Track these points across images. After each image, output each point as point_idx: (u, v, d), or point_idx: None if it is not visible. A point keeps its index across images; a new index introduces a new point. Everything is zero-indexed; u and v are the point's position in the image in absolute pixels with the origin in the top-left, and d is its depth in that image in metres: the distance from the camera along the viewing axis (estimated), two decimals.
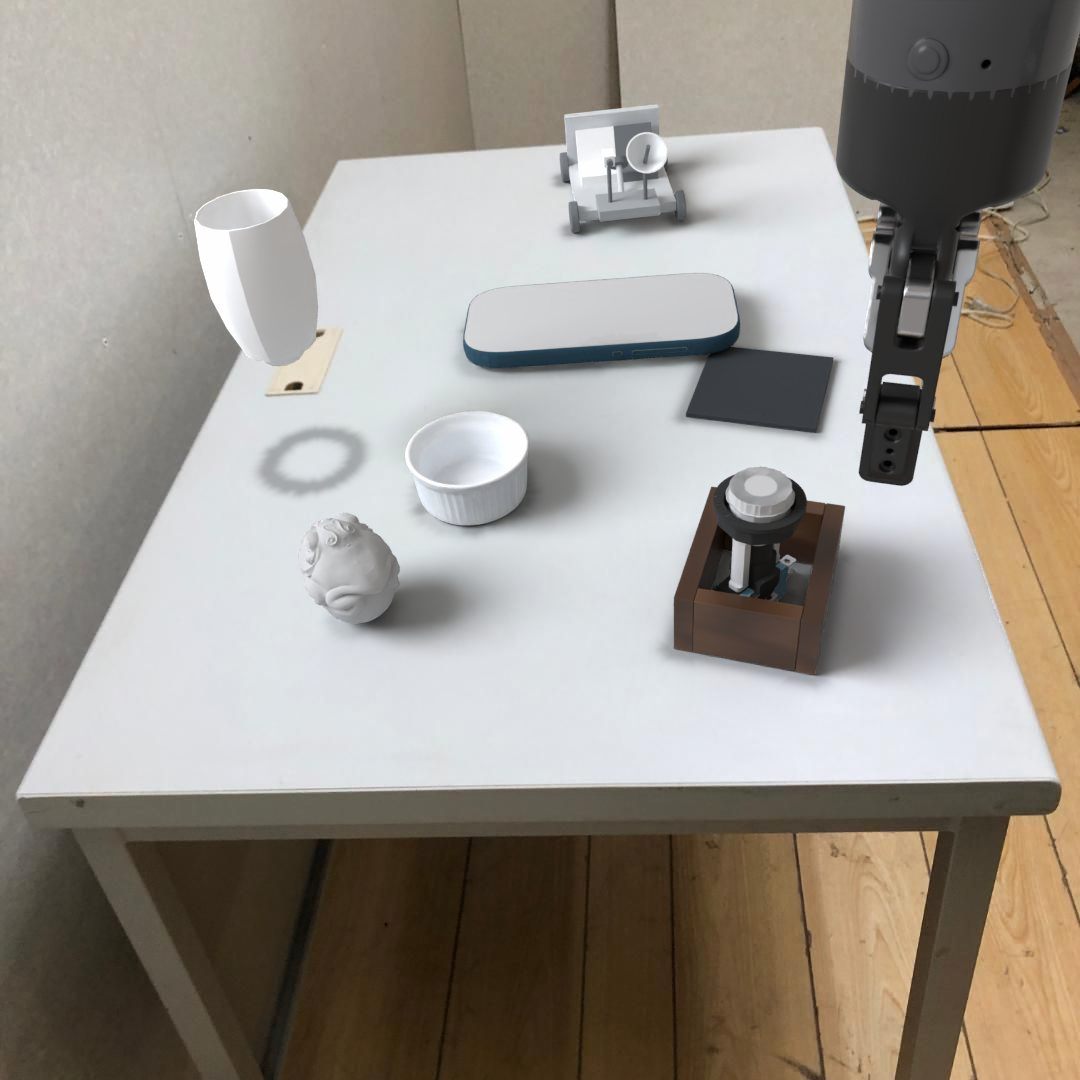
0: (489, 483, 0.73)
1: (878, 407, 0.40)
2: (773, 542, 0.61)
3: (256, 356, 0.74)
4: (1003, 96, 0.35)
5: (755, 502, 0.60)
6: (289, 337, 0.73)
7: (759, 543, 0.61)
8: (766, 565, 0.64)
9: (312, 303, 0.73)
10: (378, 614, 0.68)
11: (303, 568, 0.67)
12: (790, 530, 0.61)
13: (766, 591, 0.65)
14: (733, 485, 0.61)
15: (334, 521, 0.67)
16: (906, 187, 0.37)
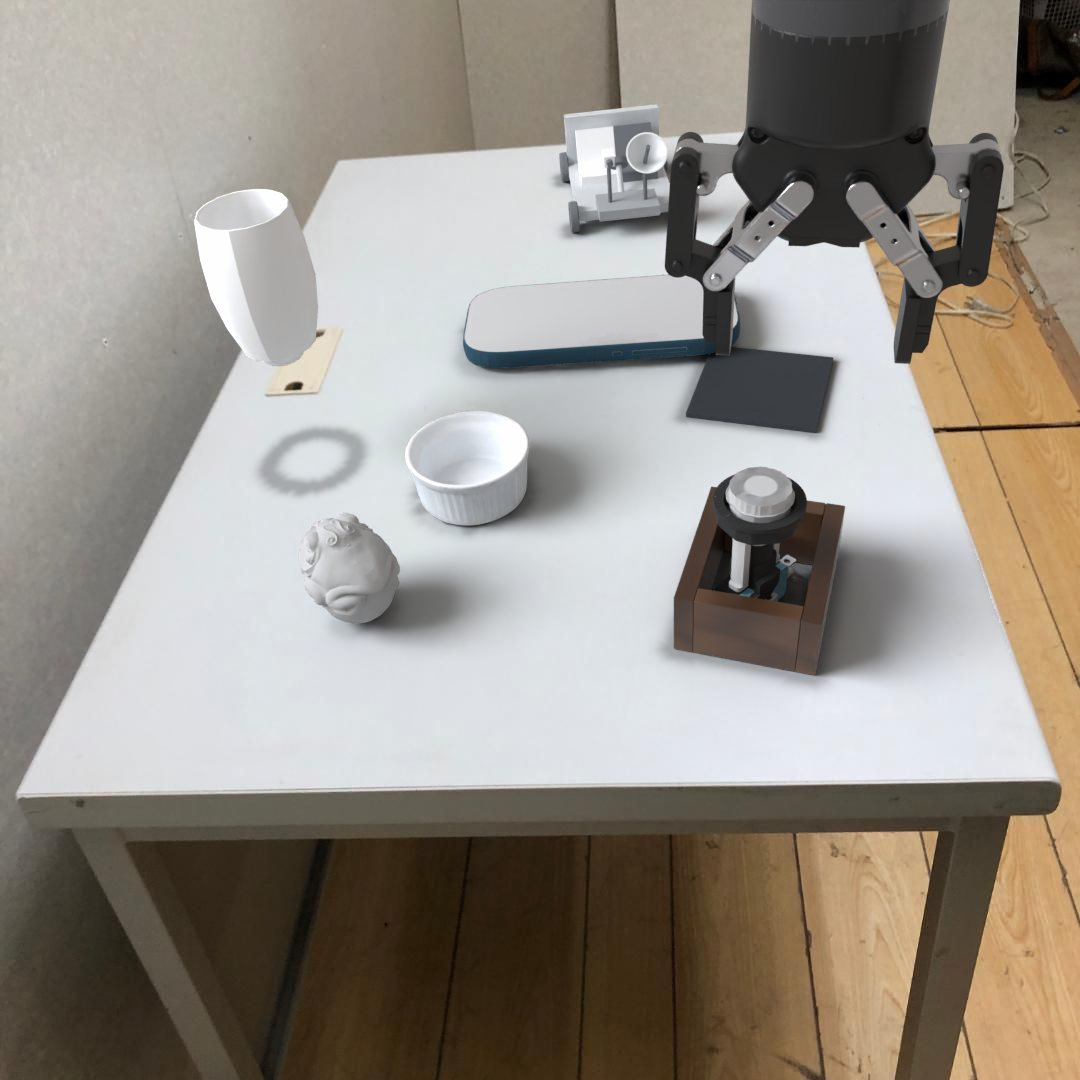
0: (489, 483, 0.73)
1: None
2: (773, 542, 0.61)
3: (256, 356, 0.74)
4: (758, 26, 0.41)
5: (755, 502, 0.60)
6: (289, 337, 0.73)
7: (759, 543, 0.61)
8: (766, 565, 0.64)
9: (312, 303, 0.73)
10: (378, 614, 0.68)
11: (303, 568, 0.67)
12: (790, 530, 0.61)
13: (766, 591, 0.65)
14: (733, 485, 0.61)
15: (334, 521, 0.67)
16: None
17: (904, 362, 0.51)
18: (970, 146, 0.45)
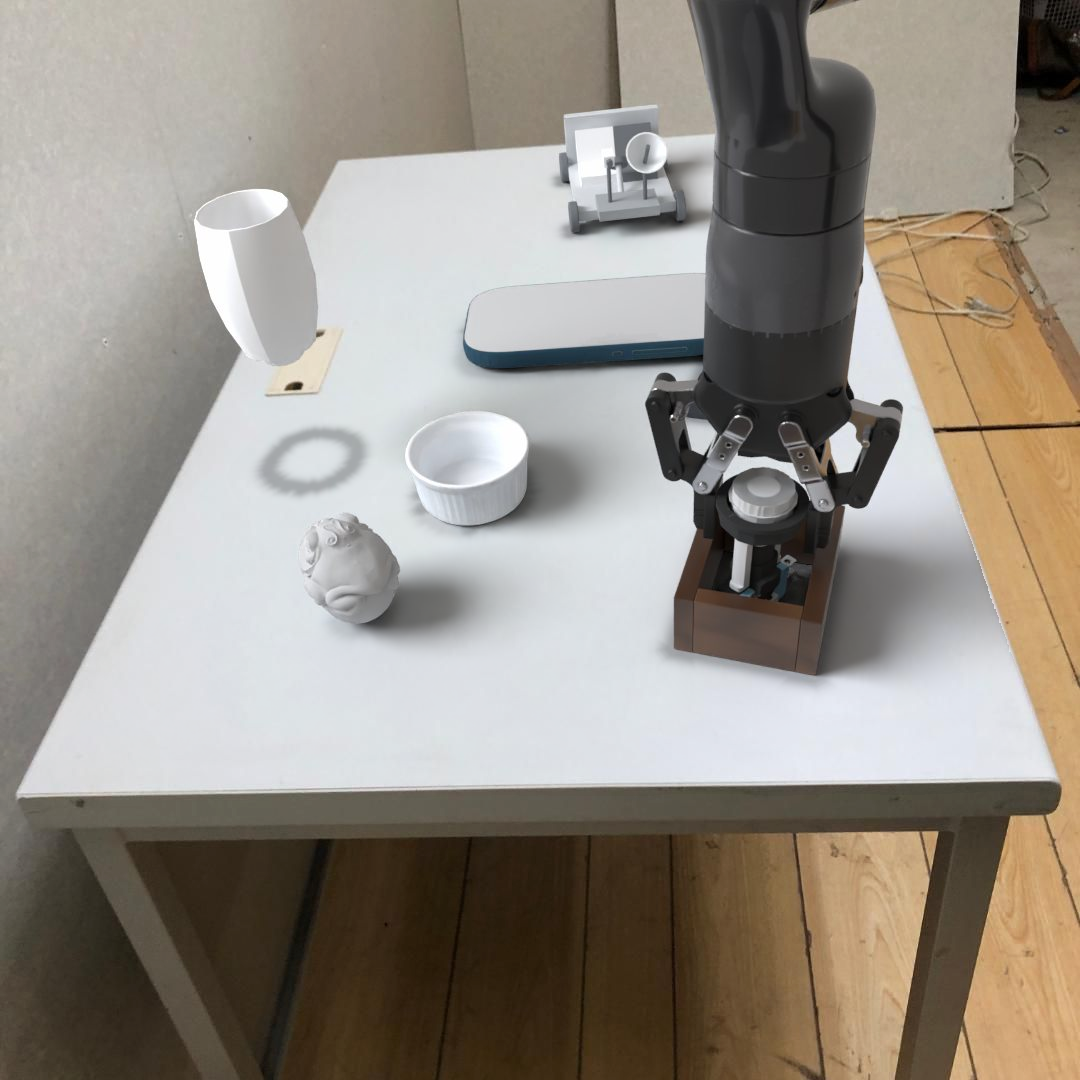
0: (489, 483, 0.73)
1: None
2: (775, 543, 0.61)
3: (256, 356, 0.74)
4: (707, 307, 0.53)
5: (758, 503, 0.60)
6: (289, 337, 0.73)
7: (761, 544, 0.61)
8: (767, 565, 0.64)
9: (312, 303, 0.73)
10: (378, 614, 0.68)
11: (303, 568, 0.67)
12: (793, 531, 0.61)
13: (767, 591, 0.65)
14: (736, 485, 0.61)
15: (334, 521, 0.67)
16: None
17: (809, 554, 0.63)
18: (880, 409, 0.56)
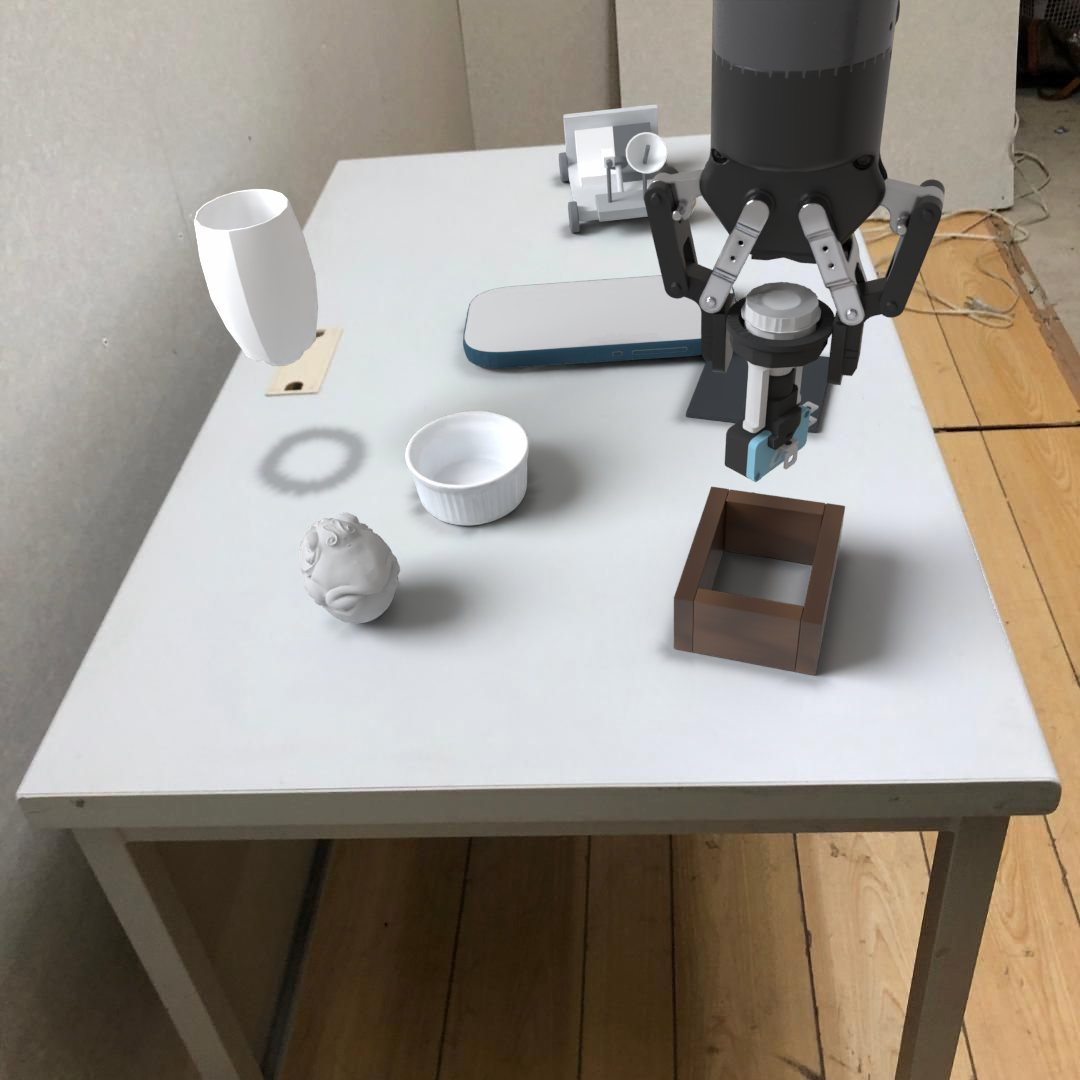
0: (489, 483, 0.73)
1: None
2: (796, 364, 0.53)
3: (256, 356, 0.74)
4: (714, 57, 0.45)
5: (776, 315, 0.52)
6: (289, 337, 0.73)
7: (780, 366, 0.53)
8: (785, 400, 0.56)
9: (312, 303, 0.73)
10: (378, 614, 0.68)
11: (303, 568, 0.67)
12: (815, 350, 0.53)
13: (785, 432, 0.57)
14: (750, 300, 0.53)
15: (334, 521, 0.67)
16: None
17: (835, 383, 0.54)
18: (919, 188, 0.48)
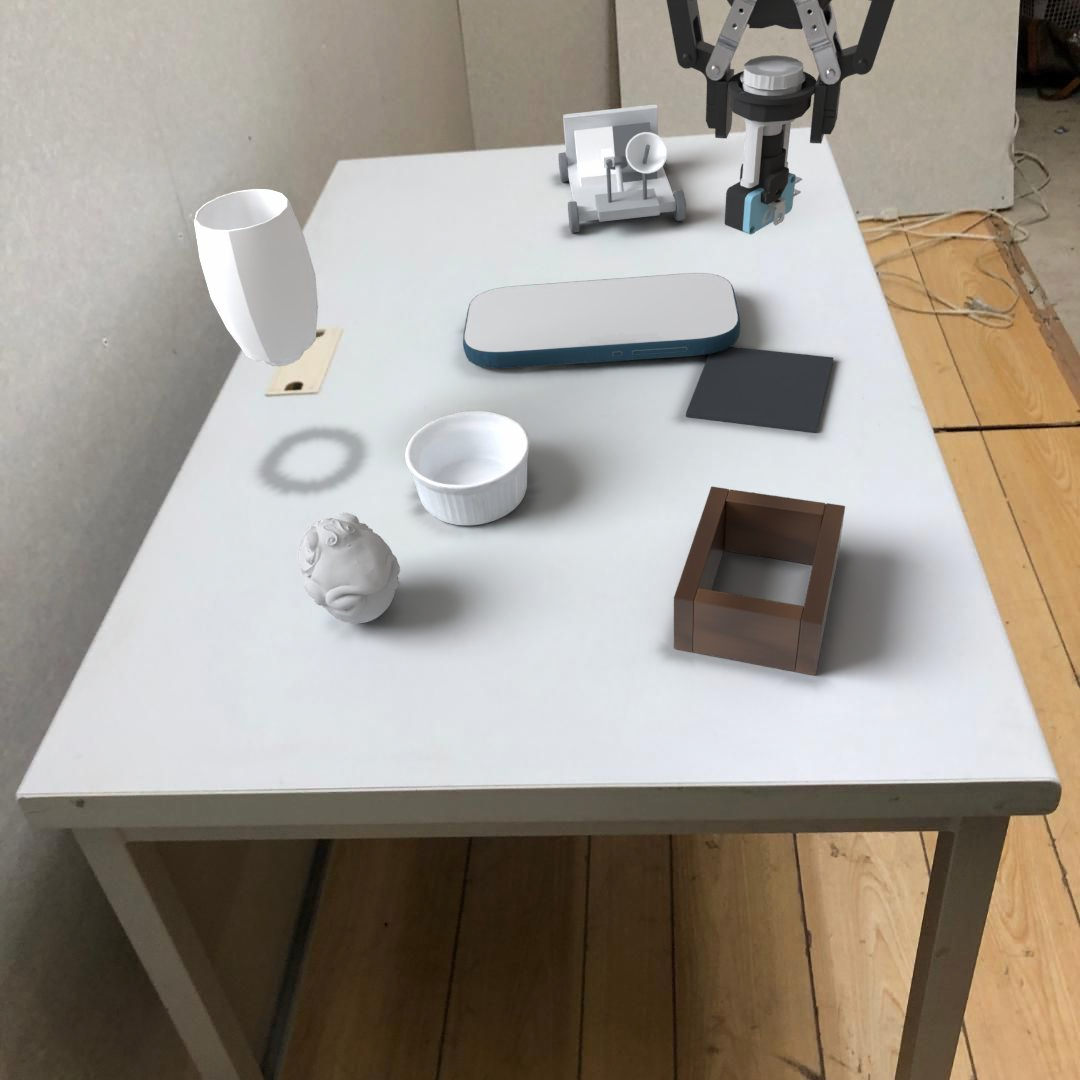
0: (489, 483, 0.73)
1: None
2: (785, 118, 0.64)
3: (256, 356, 0.74)
4: None
5: (769, 74, 0.63)
6: (289, 337, 0.73)
7: (772, 119, 0.64)
8: (776, 159, 0.68)
9: (312, 303, 0.73)
10: (378, 614, 0.68)
11: (303, 568, 0.67)
12: (801, 107, 0.64)
13: (775, 188, 0.68)
14: (747, 66, 0.65)
15: (334, 521, 0.67)
16: None
17: (816, 141, 0.66)
18: None
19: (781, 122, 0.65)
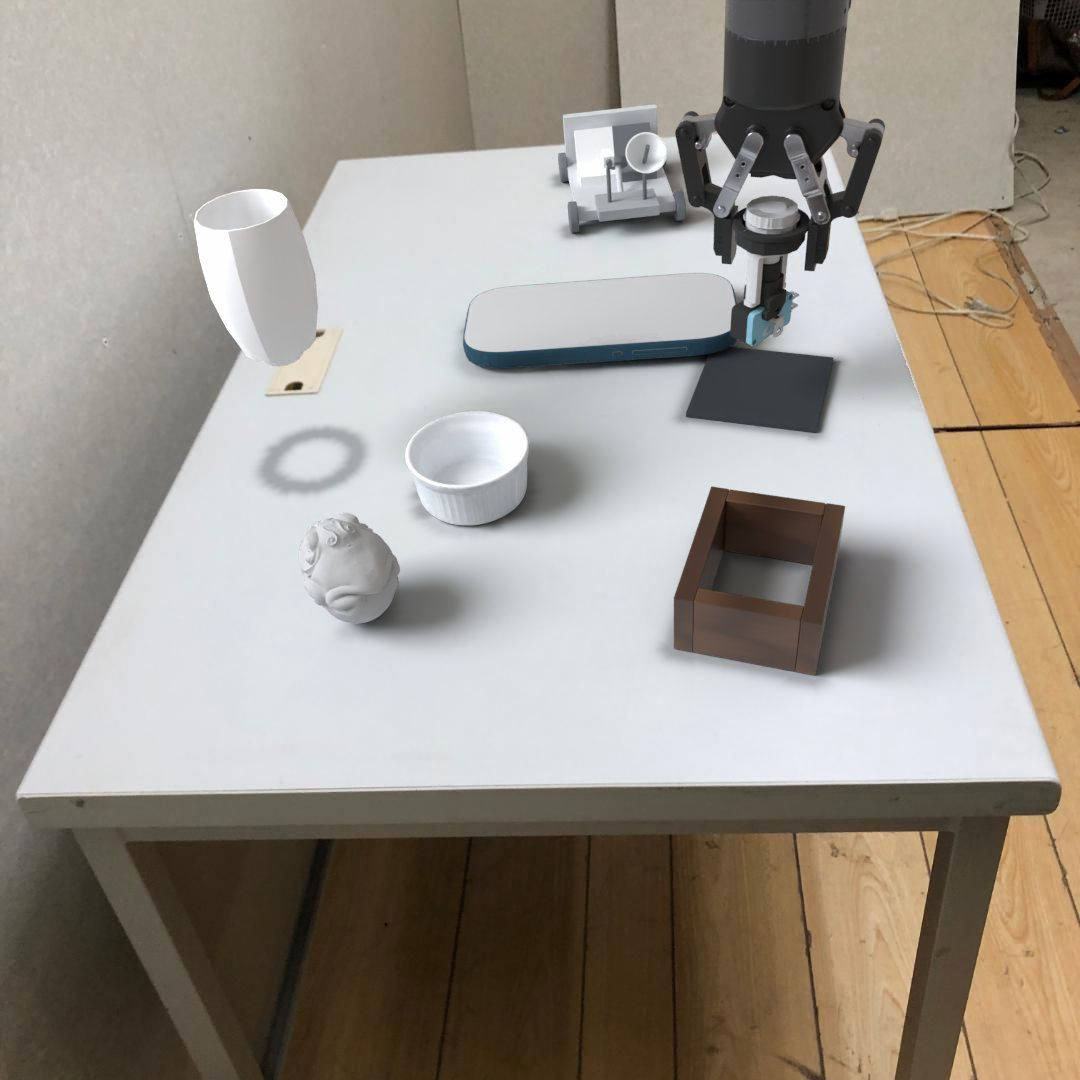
0: (489, 483, 0.73)
1: None
2: (782, 252, 0.74)
3: (256, 357, 0.74)
4: (726, 32, 0.67)
5: (768, 216, 0.73)
6: (289, 337, 0.73)
7: (770, 253, 0.74)
8: (775, 283, 0.77)
9: (312, 303, 0.73)
10: (378, 614, 0.68)
11: (303, 568, 0.67)
12: (796, 243, 0.74)
13: (775, 308, 0.78)
14: (749, 207, 0.74)
15: (334, 521, 0.67)
16: None
17: (810, 269, 0.76)
18: (866, 124, 0.69)
19: (779, 255, 0.75)
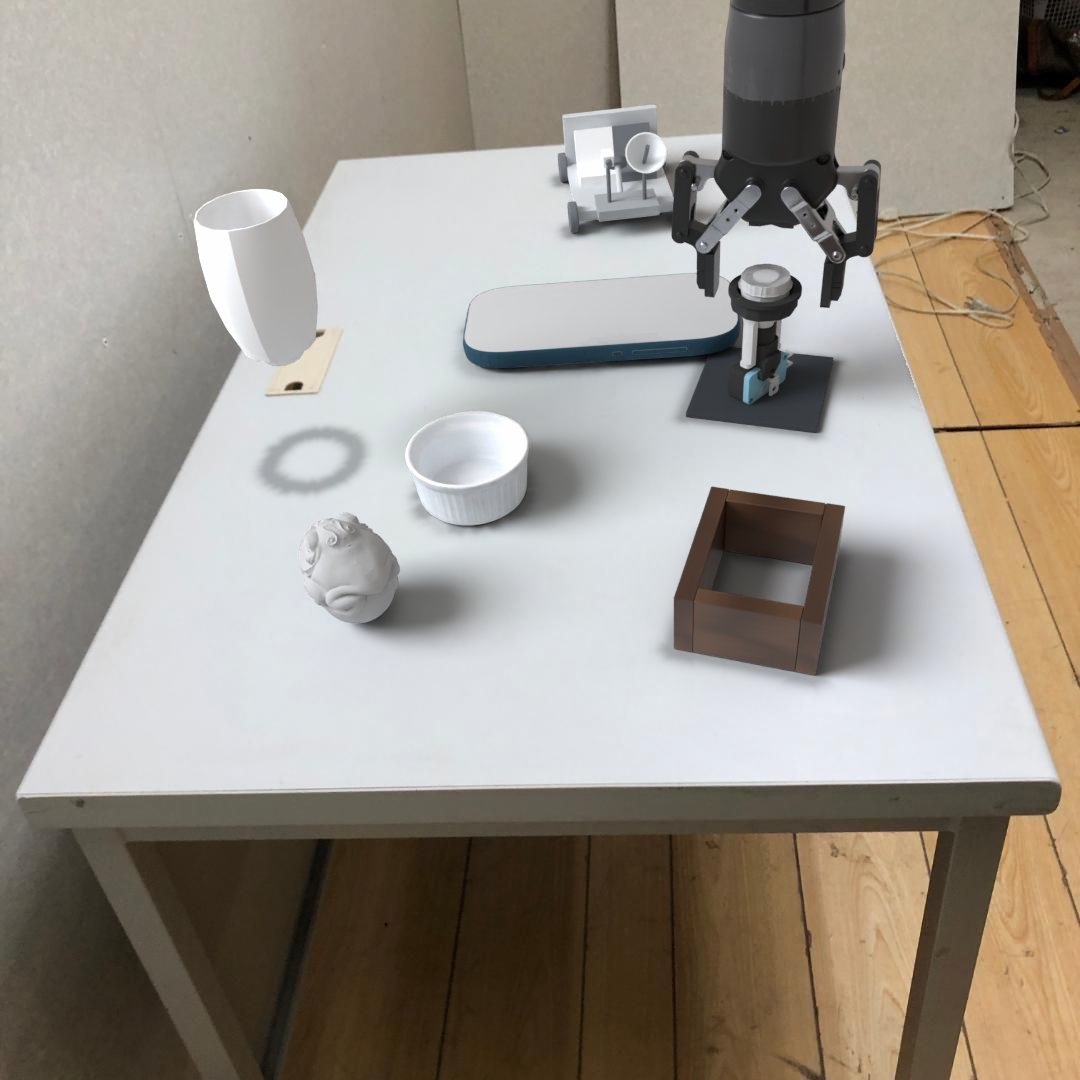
0: (489, 483, 0.73)
1: None
2: (775, 318, 0.78)
3: (256, 357, 0.74)
4: (725, 90, 0.69)
5: (761, 285, 0.77)
6: (289, 337, 0.73)
7: (764, 320, 0.78)
8: (769, 345, 0.81)
9: (312, 303, 0.73)
10: (378, 614, 0.68)
11: (303, 568, 0.67)
12: (789, 309, 0.77)
13: (770, 368, 0.81)
14: (744, 275, 0.78)
15: (334, 521, 0.67)
16: None
17: (825, 306, 0.78)
18: (860, 167, 0.71)
19: (773, 320, 0.78)
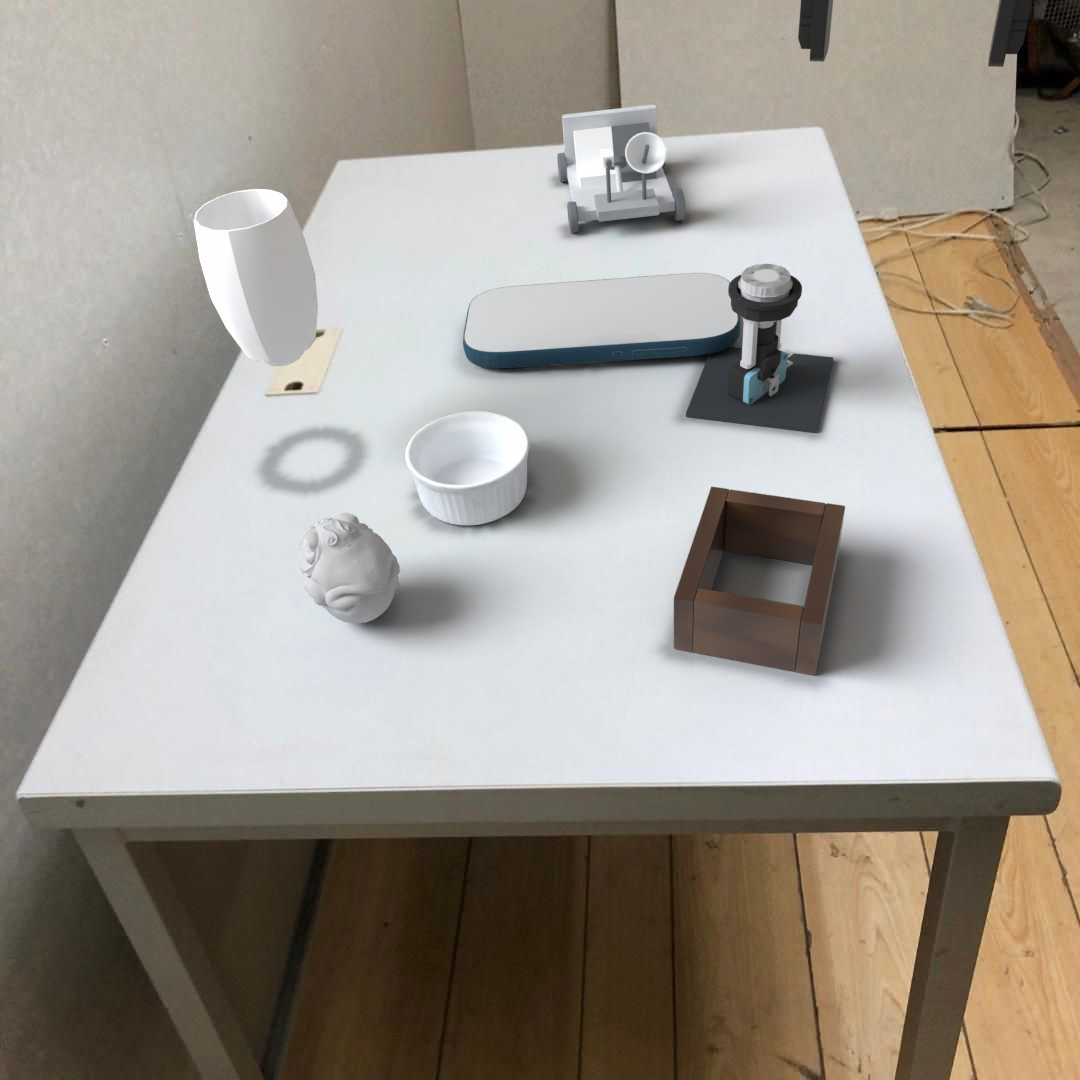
0: (489, 483, 0.73)
1: None
2: (775, 318, 0.78)
3: (256, 357, 0.74)
4: None
5: (761, 285, 0.77)
6: (289, 337, 0.73)
7: (764, 320, 0.78)
8: (769, 345, 0.81)
9: (312, 303, 0.73)
10: (378, 614, 0.68)
11: (303, 568, 0.67)
12: (789, 309, 0.77)
13: (770, 368, 0.81)
14: (744, 275, 0.78)
15: (334, 521, 0.67)
16: None
17: (997, 63, 0.51)
18: None
19: (773, 320, 0.78)
